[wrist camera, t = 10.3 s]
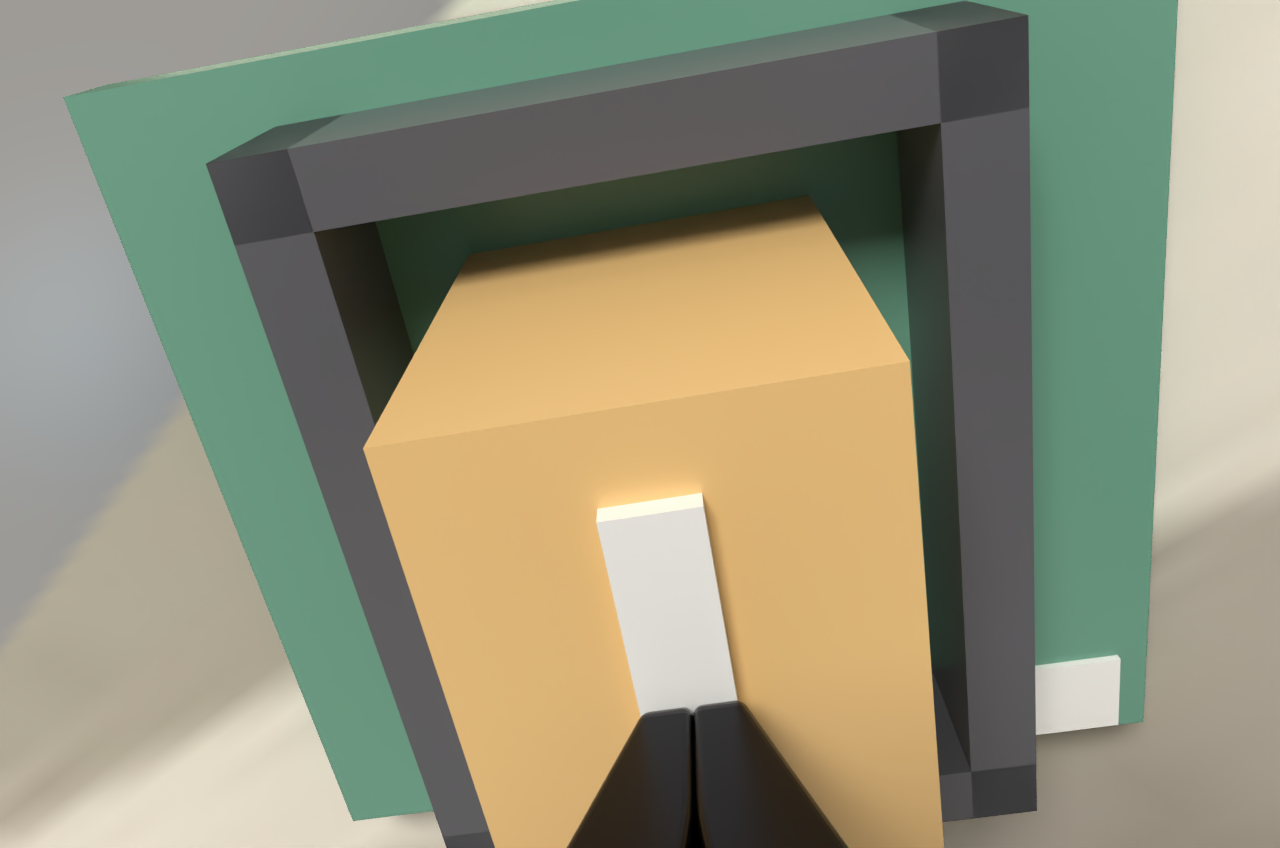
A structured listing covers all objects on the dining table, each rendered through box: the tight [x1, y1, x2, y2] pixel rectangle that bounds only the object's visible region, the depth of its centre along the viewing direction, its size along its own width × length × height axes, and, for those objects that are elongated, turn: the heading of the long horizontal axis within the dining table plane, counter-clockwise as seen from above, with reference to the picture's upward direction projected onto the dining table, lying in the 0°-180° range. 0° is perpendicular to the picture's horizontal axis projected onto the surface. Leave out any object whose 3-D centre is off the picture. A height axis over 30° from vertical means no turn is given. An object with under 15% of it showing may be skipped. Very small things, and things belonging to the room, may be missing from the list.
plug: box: [363, 195, 944, 848], centre depth 11 cm, size 6×4×5 cm, turn 10°
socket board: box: [64, 0, 1178, 848], centre depth 13 cm, size 11×12×3 cm
